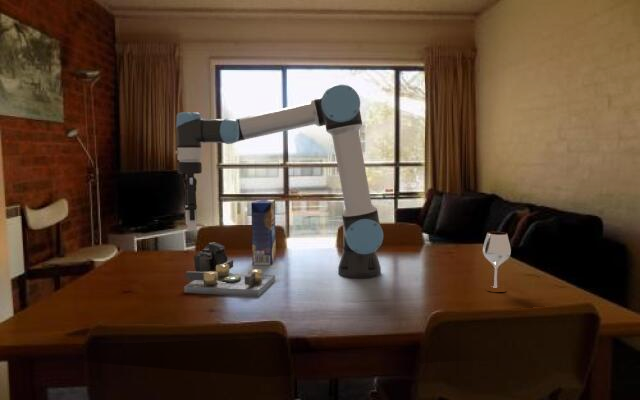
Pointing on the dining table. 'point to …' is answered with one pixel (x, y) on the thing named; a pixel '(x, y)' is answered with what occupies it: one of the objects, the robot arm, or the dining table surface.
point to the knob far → (224, 268)
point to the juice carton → (263, 232)
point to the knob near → (203, 276)
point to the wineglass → (496, 250)
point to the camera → (210, 257)
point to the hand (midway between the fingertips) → (191, 227)
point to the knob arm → (253, 276)
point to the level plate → (231, 285)
